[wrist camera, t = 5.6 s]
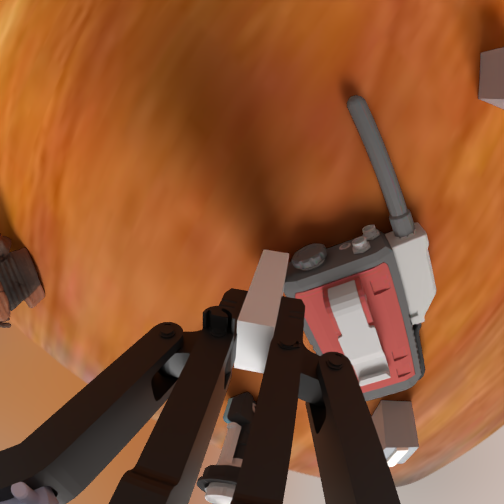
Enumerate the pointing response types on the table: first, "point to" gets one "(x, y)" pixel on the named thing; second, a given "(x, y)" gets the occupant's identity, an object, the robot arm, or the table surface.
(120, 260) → the table surface
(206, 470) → the push button
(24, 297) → the pottery mug
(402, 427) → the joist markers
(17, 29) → the table surface
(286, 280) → the walkie-talkie
